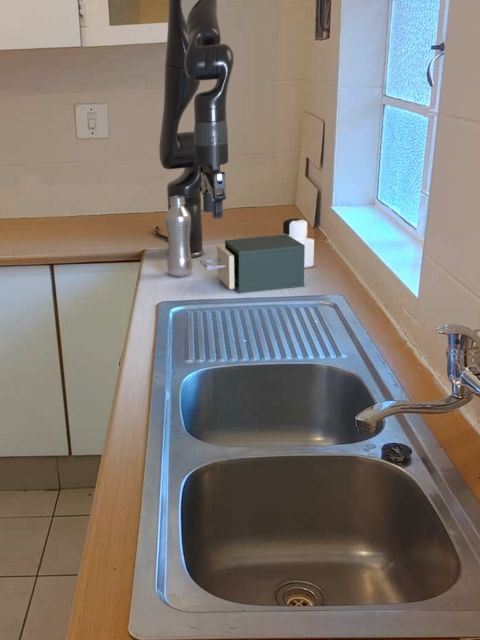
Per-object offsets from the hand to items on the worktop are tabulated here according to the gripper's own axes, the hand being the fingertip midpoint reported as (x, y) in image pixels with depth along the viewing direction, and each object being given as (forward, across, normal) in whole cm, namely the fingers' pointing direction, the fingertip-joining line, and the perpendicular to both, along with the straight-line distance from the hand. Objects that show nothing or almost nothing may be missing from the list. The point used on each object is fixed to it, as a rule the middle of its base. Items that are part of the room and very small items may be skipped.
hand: (212, 214), depth 174 cm
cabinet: (+18, +1, -13) cm, 22 cm away
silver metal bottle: (+18, +15, +5) cm, 24 cm away
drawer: (+17, +1, -7) cm, 18 cm away
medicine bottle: (+18, +13, -25) cm, 33 cm away
